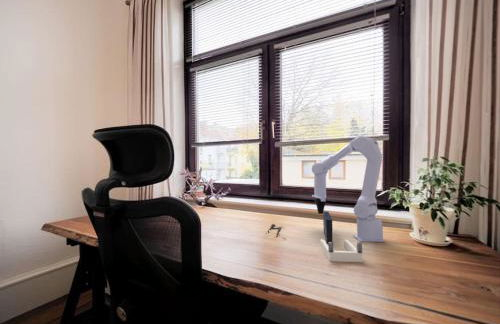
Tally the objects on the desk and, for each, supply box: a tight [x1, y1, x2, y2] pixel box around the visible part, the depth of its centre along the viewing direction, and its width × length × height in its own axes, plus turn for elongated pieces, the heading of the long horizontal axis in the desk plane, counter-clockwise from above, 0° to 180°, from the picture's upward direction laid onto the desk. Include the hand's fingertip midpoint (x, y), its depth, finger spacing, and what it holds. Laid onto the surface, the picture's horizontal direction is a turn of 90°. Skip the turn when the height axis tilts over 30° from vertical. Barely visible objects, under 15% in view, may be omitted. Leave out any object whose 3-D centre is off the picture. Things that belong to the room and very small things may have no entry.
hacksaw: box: [265, 223, 287, 241], centre depth 111 cm, size 24×10×2 cm, turn 164°
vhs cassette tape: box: [322, 210, 334, 245], centre depth 102 cm, size 18×3×10 cm, turn 164°
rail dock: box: [320, 238, 363, 263], centre depth 83 cm, size 11×15×6 cm
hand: (320, 213), depth 117 cm, fingers closed
